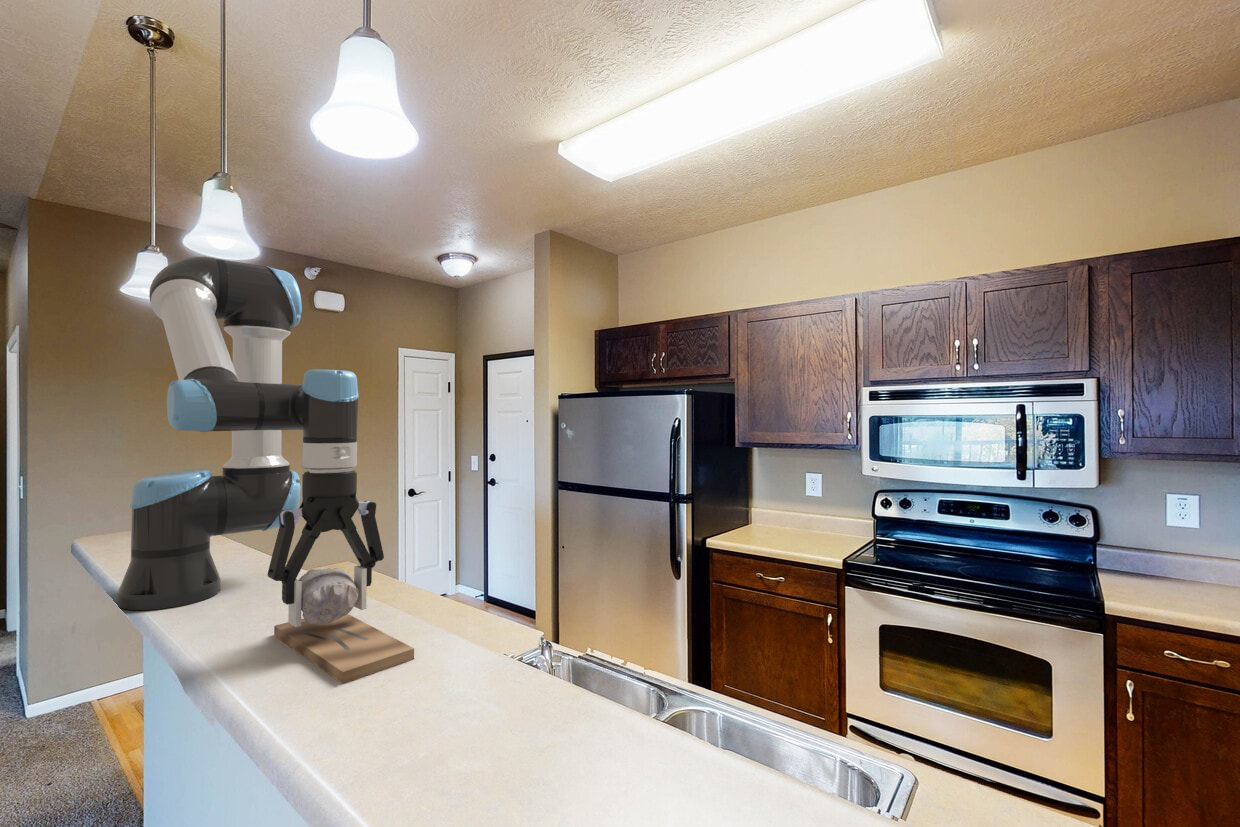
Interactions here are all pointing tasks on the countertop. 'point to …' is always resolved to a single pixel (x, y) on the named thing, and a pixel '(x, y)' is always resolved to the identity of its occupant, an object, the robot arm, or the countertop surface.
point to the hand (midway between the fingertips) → (328, 615)
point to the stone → (327, 595)
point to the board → (345, 647)
